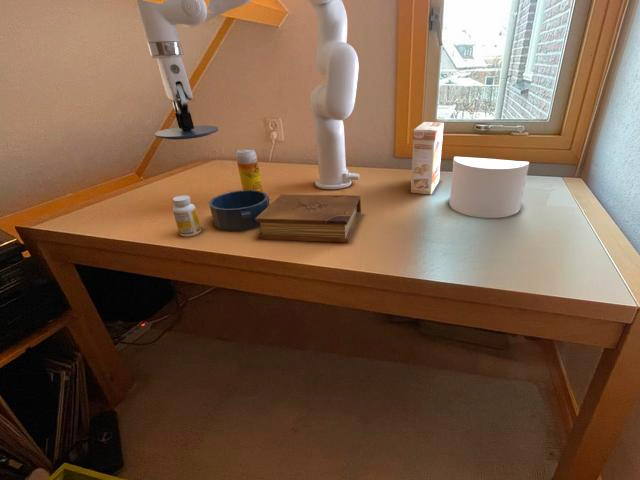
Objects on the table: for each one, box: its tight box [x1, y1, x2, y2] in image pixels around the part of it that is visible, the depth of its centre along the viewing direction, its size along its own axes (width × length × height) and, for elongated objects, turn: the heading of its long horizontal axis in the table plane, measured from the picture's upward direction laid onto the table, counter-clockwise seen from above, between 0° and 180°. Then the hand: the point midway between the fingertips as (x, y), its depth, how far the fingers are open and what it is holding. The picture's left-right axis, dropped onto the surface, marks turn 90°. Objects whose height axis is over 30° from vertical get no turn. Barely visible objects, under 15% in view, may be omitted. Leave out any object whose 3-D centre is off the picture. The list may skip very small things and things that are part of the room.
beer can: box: [235, 148, 264, 192], centre depth 116 cm, size 6×6×15 cm
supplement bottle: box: [172, 194, 202, 238], centre depth 95 cm, size 5×5×10 cm
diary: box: [255, 193, 362, 243], centre depth 98 cm, size 23×19×6 cm
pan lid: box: [154, 112, 219, 141], centre depth 101 cm, size 16×16×6 cm
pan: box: [208, 189, 271, 232], centre depth 103 cm, size 16×21×6 cm
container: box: [448, 155, 530, 219], centre depth 105 cm, size 20×20×13 cm
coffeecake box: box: [410, 121, 445, 195], centre depth 119 cm, size 15×7×20 cm, turn 160°
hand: (186, 128), depth 102 cm, fingers closed on pan lid, 2 cm apart
